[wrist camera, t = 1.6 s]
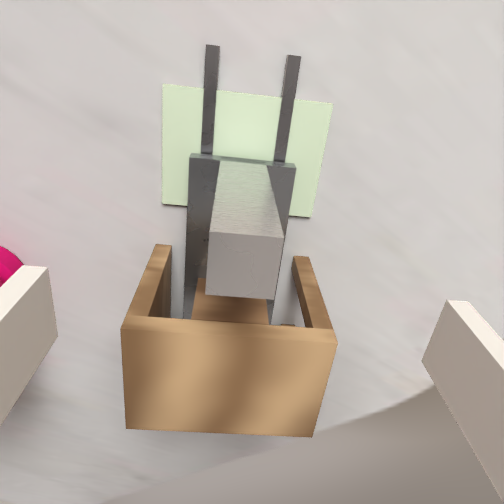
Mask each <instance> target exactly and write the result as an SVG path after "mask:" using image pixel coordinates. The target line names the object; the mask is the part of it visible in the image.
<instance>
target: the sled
mask: <svg viewBox="0 0 504 504" xmlns="http://www.w3.org/2000/svg"><path fill="white" fill-rule="evenodd" d="M296 169H297V168H296V166H295V164H294V163H285V162H275V161H266V160H256V159H247V158H237V157H227V156H218V155H208V154H198V153H191V154H190V157H189V177H188V204H187V230H186V257H185V283H184V310H183V319H189V320H191V317H192V311H193V305H194V299H195V293H196V288H197V282H198V278H206V289H205V295H218V296H231V297H245V298H258V299H266V303H267V312H268V321H269V325H270V324H271V318H272V312H273V306H274V300H275V294H276V288H277V282H278V276H279V270H280V264H281V258H282V252H283V246H284V240H285V234H286V228H287V223H288V217H289V211H290V205H291V199H292V193H293V187H294V181H295V175H296Z"/></svg>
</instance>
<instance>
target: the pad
mask: <svg viewBox="0 0 504 504" xmlns="http://www.w3.org/2000/svg"><path fill="white" fill-rule="evenodd" d="M203 96H204V88H196V87H187V86H179V85H170V84H163V106H162V204H173V205H184V206H187V204H188V177H189V157H190V154H191V153H198V154H201V135H202V115H203ZM281 100H282V98H281V97H273V96H264V95H256V94H247V93H239V92H230V91H222V90H217V93H216V109H215V124H214V139H213V155H218V156H227V157H237V158H247V159H256V160H266V161H273V159H274V151H275V144H276V137H277V130H278V122H279V115H280V108H281ZM332 108H333V104H332V103H324V102H316V101H307V100H298V99H295V100H294V106H293V113H292V119H291V126H290V132H289V139H288V146H287V152H286V159H285V163H294V164H295V166H296V168H297V169H296V175H295V181H294V187H293V193H292V199H291V205H290V211H289V215H292V216H303V217H311V215H312V210H313V205H314V200H315V195H316V190H317V185H318V180H319V174H320V169H321V164H322V159H323V154H324V149H325V144H326V139H327V134H328V129H329V123H330V118H331V113H332Z"/></svg>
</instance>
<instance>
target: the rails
mask: <svg viewBox="0 0 504 504" xmlns="http://www.w3.org/2000/svg"><path fill="white" fill-rule="evenodd" d="M219 50H220V46H214V45H206V56H205V76H204V96H203V115H202V135H201V154H208V155H213V139H214V124H215V109H216V93H217V81H218V66H219ZM300 60H301V56H293V55H287V60H286V67H285V75H284V82H283V89H282V97H281V98H282V100H281V108H280V115H279V122H278V130H277V137H276V144H275V151H274V159H273V161H275V162H285V159H286V152H287V146H288V139H289V132H290V126H291V119H292V113H293V106H294V100H295V93H296V86H297V80H298V73H299V67H300Z"/></svg>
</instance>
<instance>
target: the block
mask: <svg viewBox="0 0 504 504" xmlns="http://www.w3.org/2000/svg"><path fill="white" fill-rule="evenodd" d="M205 289H206V278H198V282H197V288H196V293H195V299H194V305H193V311H192V317H191V320H204V321H218V322H233V323H247V324H262V325H269V321H268V312H267V303H266V299H258V298H245V297H231V296H218V295H205Z"/></svg>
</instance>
